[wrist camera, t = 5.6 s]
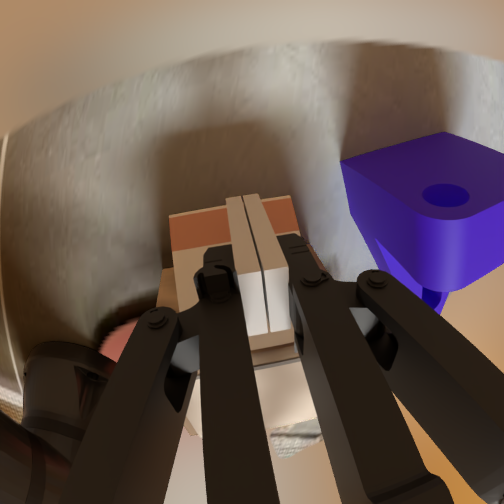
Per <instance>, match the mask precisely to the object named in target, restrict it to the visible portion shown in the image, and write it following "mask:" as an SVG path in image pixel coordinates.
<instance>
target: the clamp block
mask: <svg viewBox="0 0 504 504" xmlns="http://www.w3.org/2000/svg"><path fill="white" fill-rule="evenodd" d="M307 246H308V248H309V250H310V252H311V253H312V255H313V257H314V259H315V261H316V262H317V264H318V266H319V268H320V269H322V270H324V271H326V272H327V270H326V269H325V267H324V266H323V264H322V262H321V261H320V259H319V258H318V256H317V254H316V253H315V251H314V250H313V248H312V246H311V245H310V244H307ZM162 306H165V307H170V308H172V309H173V310H175V311H176V313H179V305H178V298H177V290H176V282H175V274H174V267H172V268H166V269H163V270H162V275H161V281H160V287H159V293H158V299H157V305H156V307H162ZM251 355H252V361H253V366H254V372H255V377H256V383H257V388H258V393H259V399H260V404H261V409H262V415H263V420H264V425H265V429H270V428H275V427H280V426H285V425H290V424H294V423H298V422H303V421H307V420H311V419H315V418H317V414H316V411H315V407H314V404H313V400H312V397H311V394H310V390H309V387H308V383H307V380H306V377H305V373H304V370H303V367H302V363H301V360H300V357H299V353H295V349H294V342H291V343H287V344H282V345H277V346H272V347H267V348H261V349H256V350H251ZM184 427H185V428H186V430H187V431H188V433H189V434H190V435H191V436H193V435H199V437H200V438H202V421H201V399H200V369H199V370H198V374H197V377H196V381H195V385H194V388H193V392H192V396H191V399H190V403H189V407H188V411H187V414H186V418H185V422H184Z"/></svg>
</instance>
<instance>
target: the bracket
mask: <svg viewBox="0 0 504 504" xmlns="http://www.w3.org/2000/svg"><path fill="white" fill-rule="evenodd" d="M340 164H341V169H342V174H343V178H344V183H345V188H346V193H347V198H348V203H349V209H350V214H351V216H352V217H353V219H354V221H355V223H356V225H357V227H358V229H359V230H360V232H361V234H362V236H363V238H364V240H365V242H366V244H367V246H368V248H369V250H370V252H371V254H372V256H373V258H374V260H375V262H376V264H377V266H378V268H379V270H382V271H386V272H387V273H389V274H391V275H392V276H394V277H395V278H396V279H397V280H398V281H400V282H401V283H402V284H403V285H405V286H406V287H407V288H408V289H410V290H411V291H412V292H413V293H414V294H416V295H417V296H418V297H419V298H420V299H422V300H423V301H424V302H425V303H426V304H428V305H429V306H430V307H431V308H432V309H433V310H435V311H436V312H437V313H438V314H439V315H440V313H441V311H442V309H443V306H444V304H445V301H446V299H447V296H448V294H449V292H452V291H456V290H459V289H462V288H464V287H466V286H468V285H469V284H471V283H472V282H474V281H476V280H478V279H479V278H481V277H483V276H484V275H486V274H488V273H489V272H491V271H492V270H494V269H495V268H497V267H499V266H500V265H502V264H503V263H504V154H503V153H501V152H498V151H496V150H493V149H491V148H488V147H486V146H483V145H481V144H478V143H476V142H473V141H470V140H468V139H465V138H462V137H459V136H456V135H453V134H450V133H447V132H441V133H437V134H433V135H429V136H426V137H422V138H418V139H414V140H411V141H407V142H403V143H400V144H396V145H393V146H389V147H386V148H382V149H379V150H375V151H372V152H369V153H365V154H362V155H359V156H355V157H352V158H349V159H346V160H343V161H340Z"/></svg>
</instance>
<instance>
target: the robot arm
mask: <svg viewBox="0 0 504 504" xmlns="http://www.w3.org/2000/svg"><path fill="white" fill-rule="evenodd" d="M243 202H244V206H243ZM243 202H242V199H241V196H237V197H230V198H226V206H227V213H228V221H229V228H230V235H231V242H232V244H228V245H222V246H215V247H209V248H208V249H207V250H206V252H205V253H204V255H203V267H202V268H200V269H199V270H198V271H197V272H196V273H195V275H194V277H193V280H194V284H195V287H196V291H197V294H198V298H199V301H198V303H197V304H195V305H194V306H193V307H191V308H189V309H187V310H184V311H182V312H179V313H176V311H175V310H173V309H172V308H170V307H165V306H162V307H155V308H153V309H150V310H148V311H147V312H145V313H144V314H143V315H142V316H141V317H140V319H139V320H138V322H137V324H136V326H135V328H134V330H133V332H132V334H131V336H130V338H129V340H128V342H127V344H126V346H125V348H124V350H123V352H122V354H121V356H120V358H119V360H118V362H117V363H116V362H115V361H113V360H111V359H110V358H108V357H106V356H104V355H102V354H100V353H98V352H96V351H94V350H91V349H88V348H86V347H83V346H79V345H75V344H71V343H65V342H47V343H43V344H40V345H38V346H36V347H35V348H33V349H32V351H31V352H30V354H29V356H28V359H27V361H26V364H25V366H24V371H23V379H24V383H25V384H24V392H23V418H22V422H21V425H20V424H19V423H17V422H16V421H15V420H13V419H12V418H11V417H9V416H8V415H7V414H5V413H4V412H3V411H2V410H0V504H163V503H164V499H165V495H166V491H167V487H168V483H169V479H170V476H171V472H172V468H173V464H174V460H175V456H176V452H177V448H178V444H179V440H180V437H181V433H182V429H183V426H184V422H185V418H186V414H187V411H188V407H189V403H190V399H191V396H192V392H193V388H194V385H195V381H196V377H197V374H198V370H199V369H200V399H201V421H202V440H203V456H204V469H205V481H206V493H207V504H280V501H279V496H278V491H277V486H276V481H275V476H274V472H273V466H272V461H271V456H270V451H269V446H268V441H267V436H266V431H265V425H264V420H263V415H262V409H261V404H260V399H259V393H258V388H257V383H256V377H255V372H254V366H253V361H252V355H251V350H250V344H249V339H248V336H253V335H259V334H265V333H268V328H267V320H268V324H269V328H270V332H276V331H281V330H287V329H291V321H292V324H293V327H294V349H295V353H299V357H300V360H301V363H302V367H303V370H304V373H305V377H306V380H307V383H308V387H309V390H310V394H311V397H312V400H313V404H314V407H315V411H316V414H317V418H318V421H319V424H320V428H321V431H322V435H323V438H324V442H325V445H326V449H327V452H328V456H329V459H330V463H331V466H332V470H333V474H334V477H335V480H336V484H337V488H338V492H339V495H340V499H341V502H342V504H454V502H453V499H452V496H451V494H450V491H449V489H448V488H447V486H446V484H445V482H444V481H443V480H442V479H441V478H440V477H439V476H437V475H434V474H431V473H430V472H429V471H428V470H427V469H426V467H425V465H424V463H423V460H422V458H421V456H420V453H419V451H418V449H417V446H416V444H415V442H414V439H413V437H412V435H411V432H410V430H409V428H408V426H407V424H406V421H405V419H404V417H403V415H402V413H401V411H400V408H399V406H398V404H397V402H396V400H395V398H394V396H393V393H394V394H395V396H396V397H397V398H398V399H399V400H400V401H401V403H402V404H403V405H404V406H405V408H406V409H407V410H408V411H409V412H410V414H411V415H412V416H413V417H414V418H415V420H416V421H417V422H418V423H419V424H420V426H421V427H422V428H423V429H424V431H425V432H426V433H427V434H428V435H429V437H430V438H431V439H432V440H433V442H434V443H435V444H436V445H437V446H438V448H439V449H440V450H441V451H442V452H443V454H444V455H445V456H446V458H447V459H448V460H449V461H450V462H451V463H452V465H453V466H454V467H455V468H456V470H457V471H458V472H459V474H460V475H461V476H462V477H463V479H464V480H465V481H466V482H467V484H468V485H469V486H470V487H471V489H473V491H474V492H475V493H476V494H477V495H478V496H479V497H480V498H481V499H483V500H484V501H485V502H486V503H487V504H504V374H503V373H502V372H501V371H500V370H499V369H498V368H497V367H496V366H495V365H494V364H493V363H492V362H491V361H490V360H489V359H488V358H487V357H486V356H485V355H484V354H483V353H482V352H480V351H479V350H478V349H477V348H476V347H475V346H474V345H473V344H472V343H471V342H470V341H469V340H467V339H466V338H465V337H464V336H463V335H462V334H461V333H460V332H459V331H457V330H456V329H455V328H454V327H453V326H452V325H451V324H449V323H448V322H447V321H446V320H445V319H444V318H443V317H442V316H440V315H439V314H438V313H437V312H436V311H435V310H433V309H432V308H431V307H430V306H429V305H428V304H426V303H425V302H424V301H423V300H422V299H420V298H419V297H418V296H417V295H416V294H414V293H413V292H412V291H411V290H410V289H408V288H407V287H406V286H405V285H403V284H402V283H401V282H400V281H398V280H397V279H396V278H395V277H394V276H392V275H391V274H389V273H387V272H386V271H382V270H373V269H371V270H367V271H364V272H362V273H361V274H359V276H358V278H357V282H342V281H336V280H334V279H333V278H332V276H331V275H330V274H329V273H328V272H326V271H324V270H322V269H320V268H319V266H318V264H317V262H316V261H315V259H314V257H313V255H312V253H311V252H310V250H309V248H308V246H307V244H306V243H305V241H304V239H303V238H302V237H300V236H299V235H297V234H296V233H291V234H285V235H279V236H276V235H275V233H274V230H273V228H272V226H271V223H270V221H269V218H268V216H267V214H266V211H265V209H264V207H263V204H262V202H261V200H260V197H259V195H258V193H257V194H250V195H243ZM266 315H267V319H266ZM392 392H393V393H392Z"/></svg>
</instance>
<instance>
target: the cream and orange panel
mask: <svg viewBox="0 0 504 504" xmlns="http://www.w3.org/2000/svg"><path fill="white" fill-rule="evenodd" d="M260 200H261V202H262V204H263V207H264V209H265V211H266V214H267V216H268V218H269V221H270V223H271V226H272V228H273V230H274V233H275V235H276V236H279V235H285V234H291V233H296V234H297V235H299V236H300V237H301V235H300V231H299V227H298V223H297V219H296V215H295V211H294V207H293V204H292V200H291V197H290V195H288V196H281V197H274V198H267V199H260ZM243 206H244V202H243ZM169 225H170V237H171V247H172V255H173V265H174V274H175V282H176V290H177V298H178V305H179V312H182V311H184V310H187V309H189V308H191V307H193V306H194V305H195V304H197V303H198V301H199V298H198V294H197V291H196V287H195V284H194V280H193V277H194V275H195V273H196V272H197V271H198V270H199V269H200V268H202V267H203V255H204V253H205V252H206V250H207V249H208V248H209V247H215V246H222V245H228V244H232V242H231V235H230V228H229V221H228V213H227V206H226V205H223V206H217V207H212V208H206V209H200V210H195V211H189V212H184V213H179V214H173V215H169ZM266 319H267V315H266ZM267 328H268V333H265V334H259V335H253V336H248V339H249V344H250V350H256V349H261V348H267V347H272V346H277V345H282V344H287V343H291V342H294V327H293V324H292V321H291V329H287V330H281V331H276V332H270V328H269V324H268V320H267Z"/></svg>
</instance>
